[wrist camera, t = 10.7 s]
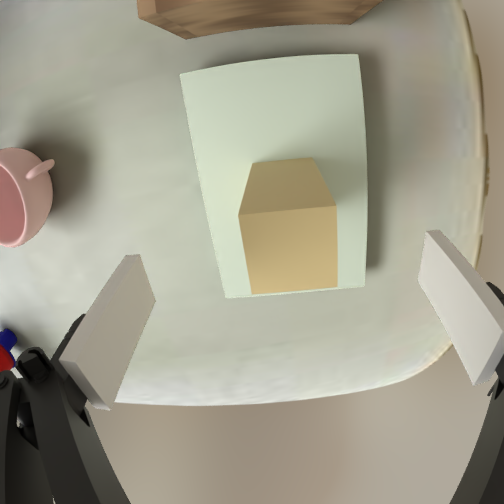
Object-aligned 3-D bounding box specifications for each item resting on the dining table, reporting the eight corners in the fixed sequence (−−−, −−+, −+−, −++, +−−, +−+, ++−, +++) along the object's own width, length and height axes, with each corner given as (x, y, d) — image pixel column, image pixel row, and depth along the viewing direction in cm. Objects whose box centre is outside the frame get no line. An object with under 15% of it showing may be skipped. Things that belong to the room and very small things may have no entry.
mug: (29, 237, 30) (0, 262, 25) (-7, 168, 26) (-41, 186, 21) (92, 195, 28) (59, 221, 22) (50, 111, 23) (10, 122, 18)
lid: (229, 283, 32) (207, 383, 21) (188, 75, 22) (116, 70, 11) (358, 271, 30) (392, 369, 19) (350, 57, 20) (414, 36, 9)
